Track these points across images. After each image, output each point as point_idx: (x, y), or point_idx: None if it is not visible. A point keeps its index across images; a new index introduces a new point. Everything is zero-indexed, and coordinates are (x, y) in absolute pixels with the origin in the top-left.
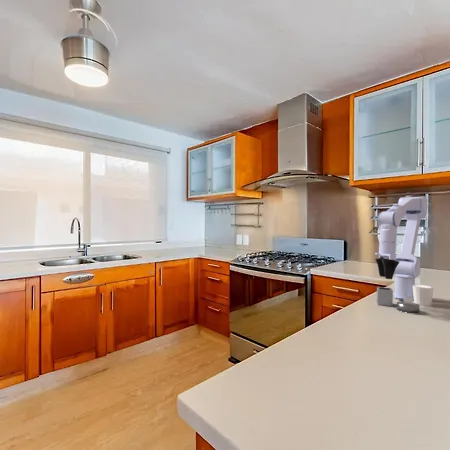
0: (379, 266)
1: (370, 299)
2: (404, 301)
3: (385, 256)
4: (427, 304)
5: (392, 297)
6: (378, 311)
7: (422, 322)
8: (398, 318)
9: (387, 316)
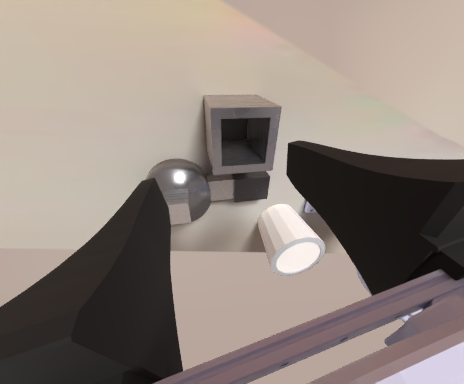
0: (346, 171)
1: (287, 69)
2: (171, 194)
3: (400, 334)
4: (259, 229)
5: (210, 161)
6: (90, 90)
7: (63, 212)
8: (44, 157)
9: (35, 121)
